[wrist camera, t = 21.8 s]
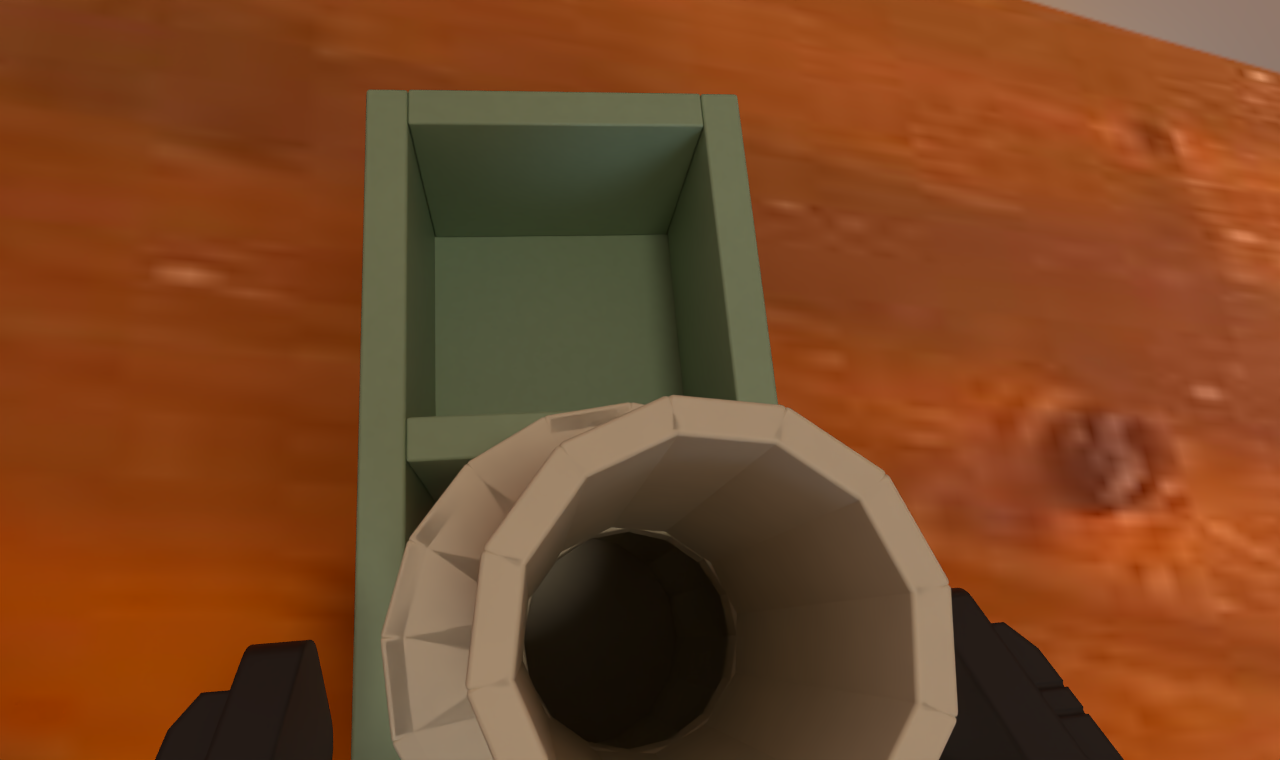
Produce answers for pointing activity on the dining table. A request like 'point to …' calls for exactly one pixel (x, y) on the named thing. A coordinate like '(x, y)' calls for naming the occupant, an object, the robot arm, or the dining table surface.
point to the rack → (534, 294)
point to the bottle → (670, 598)
